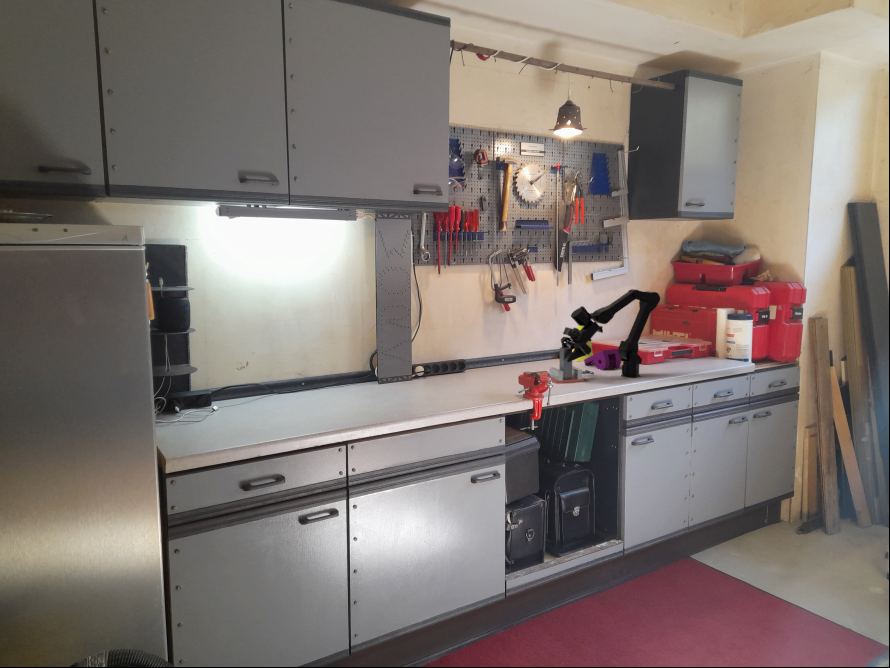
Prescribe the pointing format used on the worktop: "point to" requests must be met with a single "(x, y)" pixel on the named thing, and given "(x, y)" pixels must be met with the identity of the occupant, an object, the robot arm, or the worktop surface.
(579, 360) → the cone
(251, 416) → the worktop surface
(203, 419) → the worktop surface
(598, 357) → the mounting bracket
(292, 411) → the worktop surface
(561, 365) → the steel bar
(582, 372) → the bench vise
